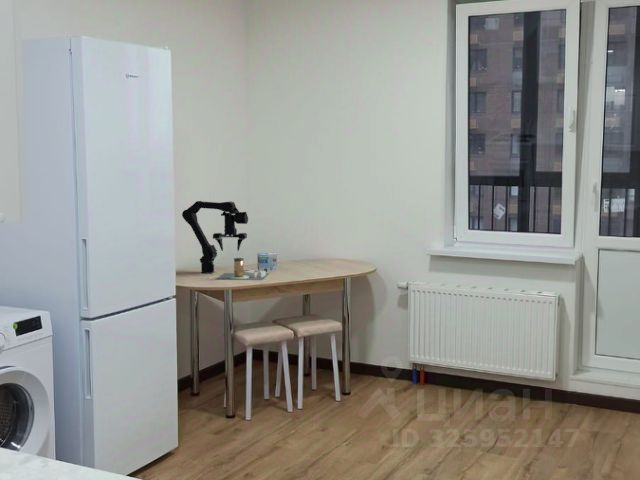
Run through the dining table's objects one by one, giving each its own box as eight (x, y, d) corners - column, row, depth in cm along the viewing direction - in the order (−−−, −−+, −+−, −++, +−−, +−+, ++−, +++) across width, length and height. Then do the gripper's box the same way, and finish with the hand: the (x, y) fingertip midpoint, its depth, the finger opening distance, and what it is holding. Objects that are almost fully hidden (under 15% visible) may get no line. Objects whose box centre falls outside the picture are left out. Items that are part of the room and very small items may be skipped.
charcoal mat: (215, 280, 417) (215, 279, 417) (224, 273, 441) (224, 272, 441) (262, 281, 415) (262, 280, 415) (269, 274, 439) (269, 273, 439)
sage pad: (227, 279, 417) (227, 278, 417) (231, 276, 428) (231, 275, 428) (247, 279, 416) (247, 278, 416) (250, 276, 427) (250, 275, 427)
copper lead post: (233, 277, 420) (233, 259, 419) (235, 275, 425) (235, 257, 424) (242, 277, 419) (242, 259, 418) (244, 275, 424) (244, 257, 423)
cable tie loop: (243, 275, 430) (243, 270, 430) (254, 274, 436) (254, 269, 436) (257, 277, 423) (257, 272, 423) (268, 275, 430) (268, 270, 429)
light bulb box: (259, 273, 444) (259, 254, 443) (257, 271, 451) (256, 253, 449) (277, 272, 447) (277, 253, 446) (275, 270, 453) (274, 252, 452)
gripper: (248, 222, 447) (249, 249, 448) (216, 222, 449) (217, 249, 450) (244, 224, 436) (245, 251, 437) (212, 224, 438) (212, 251, 439)
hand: (230, 250), depth 441 cm, fingers open, 9 cm apart
